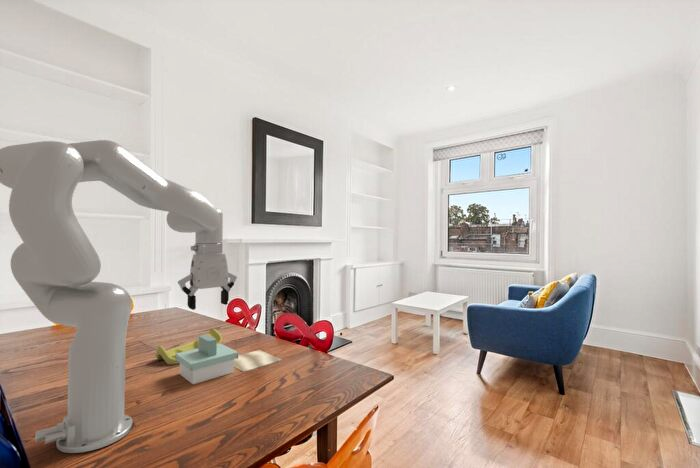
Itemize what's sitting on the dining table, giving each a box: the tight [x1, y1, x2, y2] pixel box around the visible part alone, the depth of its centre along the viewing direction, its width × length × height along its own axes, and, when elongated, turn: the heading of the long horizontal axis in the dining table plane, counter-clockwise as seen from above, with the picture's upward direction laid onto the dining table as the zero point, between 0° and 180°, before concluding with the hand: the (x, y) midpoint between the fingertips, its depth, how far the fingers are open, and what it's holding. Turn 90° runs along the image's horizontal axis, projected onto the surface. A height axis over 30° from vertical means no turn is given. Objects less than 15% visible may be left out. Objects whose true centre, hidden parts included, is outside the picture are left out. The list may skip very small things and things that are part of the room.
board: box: [234, 349, 283, 373], centre depth 112 cm, size 14×14×1 cm
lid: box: [175, 334, 239, 371], centre depth 101 cm, size 14×12×6 cm
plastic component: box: [155, 328, 223, 365], centre depth 117 cm, size 20×7×10 cm
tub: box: [179, 359, 235, 385], centre depth 101 cm, size 12×10×6 cm
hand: (208, 306), depth 101 cm, fingers open, 9 cm apart
